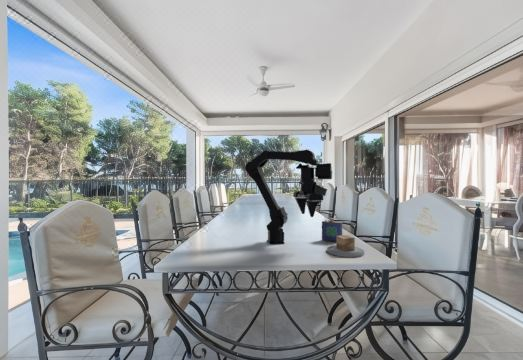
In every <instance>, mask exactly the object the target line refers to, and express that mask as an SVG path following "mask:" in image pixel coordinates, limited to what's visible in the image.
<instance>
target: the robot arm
mask: <svg viewBox="0 0 523 360" xmlns="http://www.w3.org/2000/svg"><path fill="white" fill-rule="evenodd" d="M270 160H278V161H282V160H283V161H294V162H298V165H297V166H296V167H295V169H297V170H300V181H299V182H298V184H299V185H300V190H295V191H294V192H293V194H292V195H293V198H294V200H295V201H296V203H297V205H298V208H299V210H300V212H301V214H303V215H305V213H306V207H307V209H308V213H309V215H310V217H311V218H313V217H314V216H315V213H316V209H317V207H318V205H319V204H320V203H322V202H323V201H324V197H325V196H326V195H327V191H328V189H327V188H325V187H323V186H321V185H319V184H317V182H316V181H315V177H316V178H317V179H318V180H332V179H333V170H332V163H330V162H328V163H319V162H318V160H317V159H316V155H315V153H314V152H313V151H312V150H308V149H301V150H297V151H273V150H272V151H271V150H265V149H264V150H263V151H262V152H261V153H260V154H258V155H257V156H255V158H253V159H252V160H251V161H248V162H246V164H245V167H244V169H245V172H246V173H247V175H248V176H249V177H250V178H251V179H252V181H253V182H255V184H256V186H257V189H258V190H259V192H260V194H261V196H262V198H263V200H264V202H265V204H266V206H267V208H268V212H269V218H270V222H269V223H268V224H266V229H267V240H266V242H268V244H270V245H280V244H281V245H282V244H283V245H284V244H285V232H284V229H283V227H284V225H286V224H287V222H288V213H287V211H286V210H285V207H284V206H282V207H281V206H279V205H278V203H277V201H276V199H275V197H274V195H273V193H272V191H271V189H270V187H269V184H268V183H267V181H266V179H265V175H264V171H263V167H265V165H266V164H267V163H268V161H270ZM310 165H311V167H310ZM306 205H307V206H306Z"/></svg>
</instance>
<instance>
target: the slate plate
mask: <svg viewBox="0 0 523 360" xmlns="http://www.w3.org/2000/svg"><path fill="white" fill-rule="evenodd" d="M326 248H327V249H326V250H327V251H326V252H327V253H328V254H329V255H331V256H334V257H339V258H352V259H354V258H360V257H363V256H364V255H365V250H364V249H362V248H361V247H357V246H355V251H341V250H339V249H337V248H336V245H334V244H333V245H330V246H328V247H326Z"/></svg>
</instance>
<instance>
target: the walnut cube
mask: <svg viewBox="0 0 523 360" xmlns="http://www.w3.org/2000/svg"><path fill="white" fill-rule="evenodd" d="M335 243H336V248H337V249H339V250H341V251H355V247H356V246H355V245H356V244H355V237H354V236H351V235H349V234H344V235H343V234H342V235H341V236H336V242H335Z"/></svg>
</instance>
